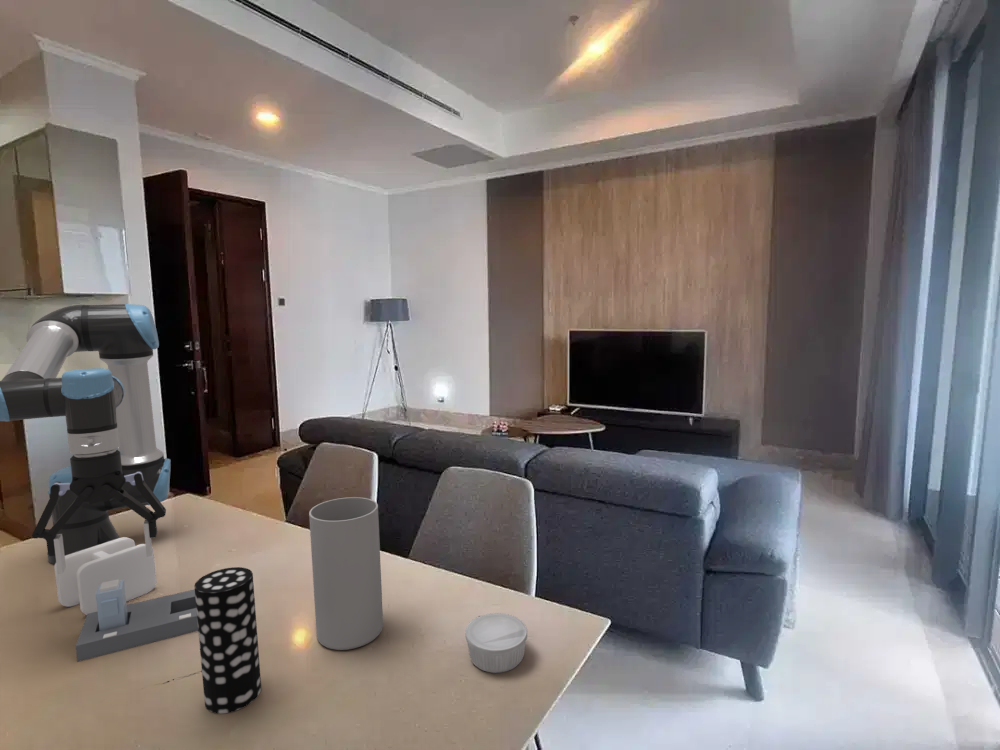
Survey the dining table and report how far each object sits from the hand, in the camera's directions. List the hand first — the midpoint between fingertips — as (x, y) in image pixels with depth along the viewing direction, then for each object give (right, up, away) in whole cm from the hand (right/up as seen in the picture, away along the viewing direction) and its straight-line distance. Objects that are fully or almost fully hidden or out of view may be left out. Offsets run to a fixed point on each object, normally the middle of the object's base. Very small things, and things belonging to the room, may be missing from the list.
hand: (107, 562), depth 104 cm
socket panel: (+5, -15, +5) cm, 17 cm away
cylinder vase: (+45, -15, +3) cm, 48 cm away
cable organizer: (-11, -14, +16) cm, 24 cm away
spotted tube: (+31, -17, -14) cm, 38 cm away
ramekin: (+74, -16, -5) cm, 76 cm away
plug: (0, -15, +2) cm, 15 cm away
